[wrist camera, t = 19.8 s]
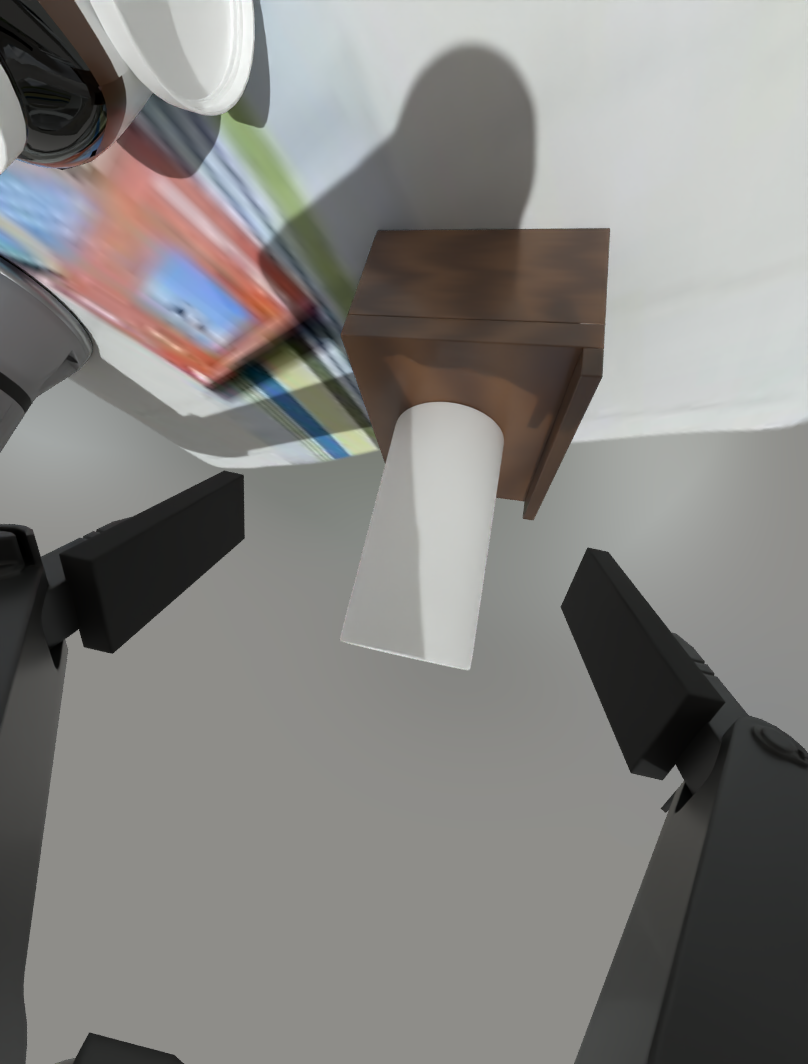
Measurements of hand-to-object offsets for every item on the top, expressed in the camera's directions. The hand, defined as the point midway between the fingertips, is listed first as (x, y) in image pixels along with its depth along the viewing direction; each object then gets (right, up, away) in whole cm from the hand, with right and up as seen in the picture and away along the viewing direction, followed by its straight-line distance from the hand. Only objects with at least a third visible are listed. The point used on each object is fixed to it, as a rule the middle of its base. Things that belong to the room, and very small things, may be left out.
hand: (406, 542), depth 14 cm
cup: (+3, +8, +14) cm, 16 cm away
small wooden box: (+6, +16, +17) cm, 24 cm away
